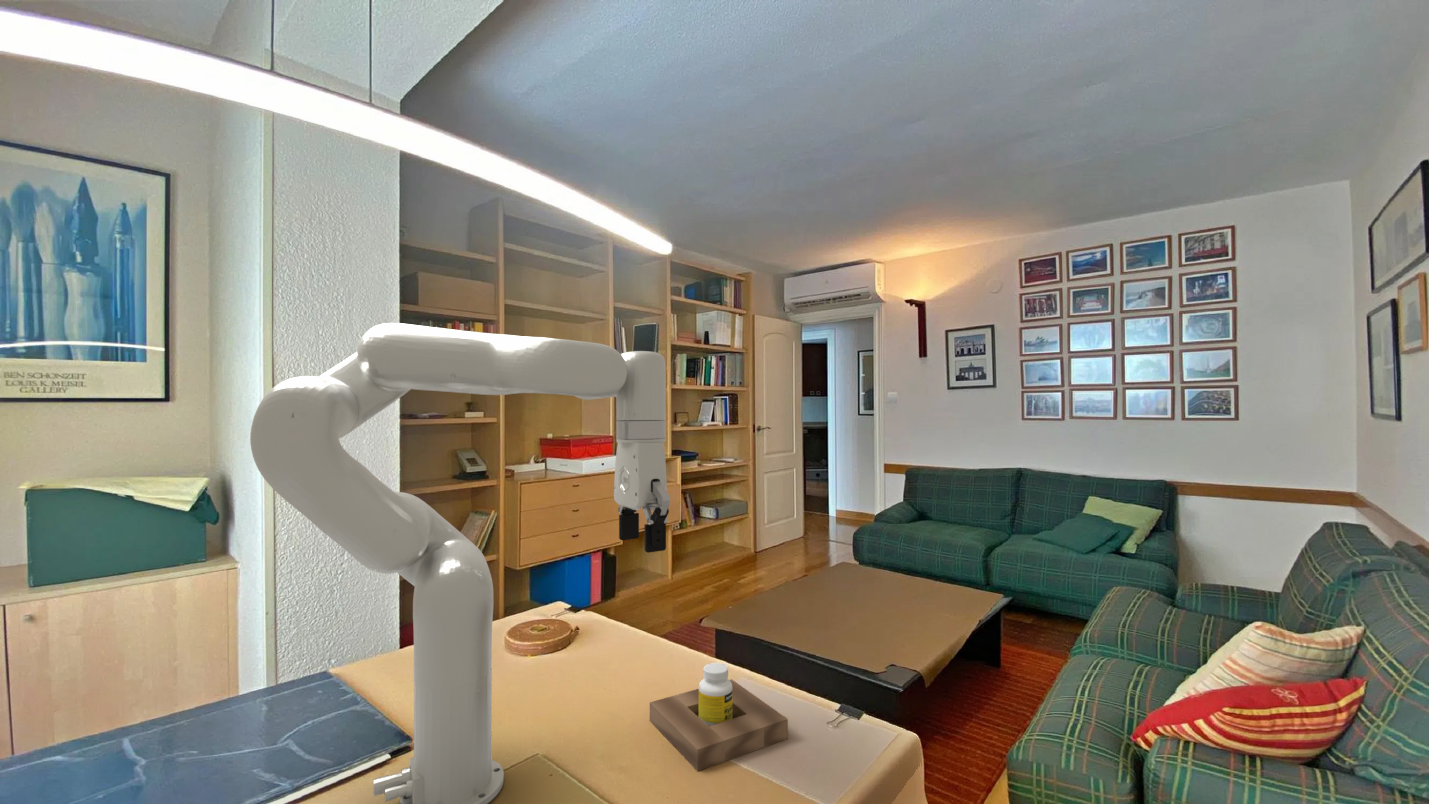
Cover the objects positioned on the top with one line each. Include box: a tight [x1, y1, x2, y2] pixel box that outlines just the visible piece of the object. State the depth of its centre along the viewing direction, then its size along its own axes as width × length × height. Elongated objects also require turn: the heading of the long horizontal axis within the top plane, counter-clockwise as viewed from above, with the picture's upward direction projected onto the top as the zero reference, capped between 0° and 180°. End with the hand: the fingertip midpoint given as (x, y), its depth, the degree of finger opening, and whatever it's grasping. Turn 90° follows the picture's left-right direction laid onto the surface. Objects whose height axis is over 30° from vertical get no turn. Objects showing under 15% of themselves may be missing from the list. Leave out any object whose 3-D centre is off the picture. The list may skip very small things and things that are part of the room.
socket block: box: [649, 679, 789, 772], centre depth 94 cm, size 16×16×3 cm
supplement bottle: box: [698, 662, 732, 726], centre depth 94 cm, size 5×5×10 cm
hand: (641, 544), depth 90 cm, fingers open, 9 cm apart
